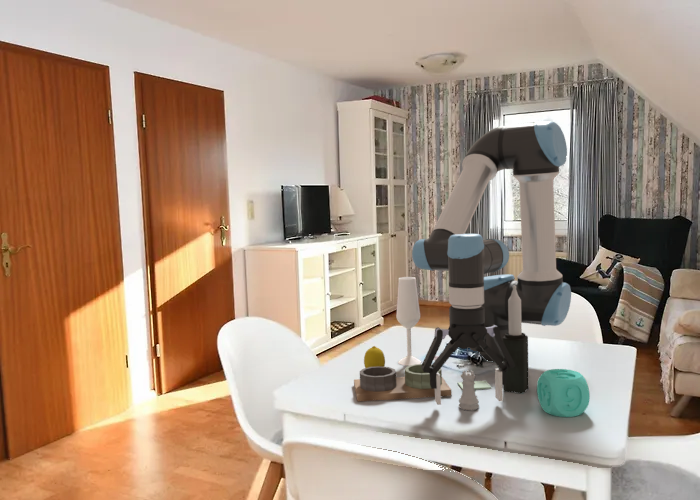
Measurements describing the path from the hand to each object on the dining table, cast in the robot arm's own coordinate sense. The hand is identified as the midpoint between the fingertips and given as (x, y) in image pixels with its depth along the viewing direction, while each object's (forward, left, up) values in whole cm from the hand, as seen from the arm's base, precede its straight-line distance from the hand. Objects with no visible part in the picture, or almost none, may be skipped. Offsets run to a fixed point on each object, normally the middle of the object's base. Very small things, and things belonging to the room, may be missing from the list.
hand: (468, 401), depth 130 cm
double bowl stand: (+13, -14, -2) cm, 19 cm away
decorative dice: (-19, +5, -2) cm, 20 cm away
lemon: (+18, -27, -2) cm, 33 cm away
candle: (-14, -10, -2) cm, 17 cm away
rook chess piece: (0, 0, -2) cm, 2 cm away
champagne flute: (+7, -38, -2) cm, 39 cm away
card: (-5, -14, -2) cm, 15 cm away
